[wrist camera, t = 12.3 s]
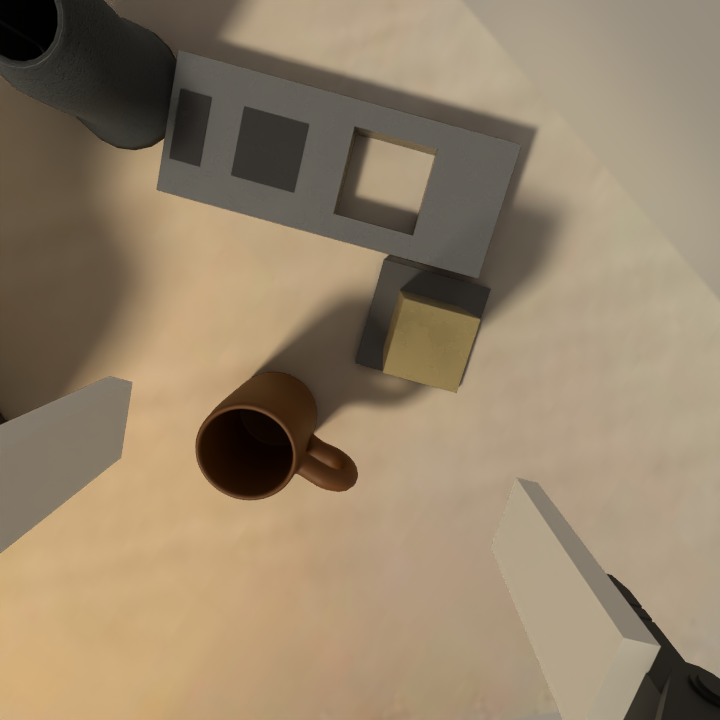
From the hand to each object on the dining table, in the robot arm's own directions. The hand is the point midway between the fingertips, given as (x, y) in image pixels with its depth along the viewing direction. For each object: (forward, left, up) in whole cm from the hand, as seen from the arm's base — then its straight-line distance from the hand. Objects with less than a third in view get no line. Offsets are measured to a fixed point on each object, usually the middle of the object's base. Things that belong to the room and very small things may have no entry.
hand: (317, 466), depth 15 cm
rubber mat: (+5, +3, -25) cm, 25 cm away
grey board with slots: (-5, +13, -25) cm, 28 cm away
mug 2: (-3, -8, -25) cm, 26 cm away
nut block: (+5, +3, -24) cm, 25 cm away
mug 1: (-24, +15, -25) cm, 38 cm away
